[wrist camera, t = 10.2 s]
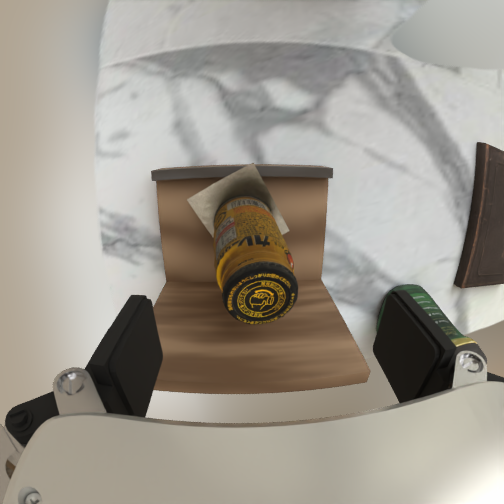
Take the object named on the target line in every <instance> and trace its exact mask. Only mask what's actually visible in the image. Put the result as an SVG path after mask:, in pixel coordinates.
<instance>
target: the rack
mask: <svg viewBox="0 0 504 504" xmlns="http://www.w3.org/2000/svg"><path fill="white" fill-rule="evenodd" d="M248 165H250V164H247V165H209V166H189V167H173V168H162V169H158V170H153V171H151V175H152V181H156V184H157V199H158V212H159V223H160V233H161V242H162V251H163V259H164V267H165V275H166V284H165V286H164V287H163V289H162V291H161V293H160V295H159V297H158V299H157V301H156V303H155V305H154V307H153V311H154V316H155V321H156V325H157V330H158V334H159V339H160V343H161V347H162V351H163V361H162V364H161V367H160V370H159V373H158V376H157V380H156V383H155V386H154V389H153V390H159V391H170V392H184V393H205V394H257V393H258V394H259V393H279V392H293V391H305V390H314V389H323V388H332V387H339V386H345V385H352V384H359V383H364V382H367V380H368V377H369V374H370V369H369V367H368V365H367V363H366V361H365V359H364V357H363V355H362V353H361V352H360V350H359V348H358V346H357V344H356V342H355V340H354V338H353V336H352V334H351V333H350V331H349V329H348V327H347V325H346V323H345V321H344V320H343V318H342V316H341V314H340V312H339V310H338V309H337V307H336V305H335V303H334V301H333V300H332V298H331V296H330V294H329V293H328V291H327V289H326V287H325V285H324V284H323V282H322V280H321V274H322V264H323V253H324V241H325V228H326V213H327V194H328V178H333V168H329V167H324V166H311V165H272V164H254V165H255V167H256V168H257V170H258V172H259V174H260V176H261V178H262V179H263V181H264V183H265V185H266V187H267V189H268V191H269V192H270V194H271V196H272V198H273V200H274V202H275V204H276V206H277V208H278V210H279V211H280V213H281V215H282V217H283V219H284V221H285V223H286V225H287V227H288V229H289V231H288V232H287V233H285V234H283V235H282V236H283V238H284V240H285V242H286V244H287V247H288V249H289V251H290V253H291V255H292V258H293V262H294V275H295V277H296V280H297V283H298V298H297V301H296V302H295V304H294V306H293V307H292V309H291V310H290V311H289V312H288V313H286V314H285V315H284V317H281V318H279V319H277V320H275V321H273V322H270V323H265V324H246V323H244V322H241V321H238V320H236V319H235V318H233V316H232V315H230V314H229V312H228V311H227V310H226V308H225V306H224V303H223V299H222V291H221V289H220V287H219V285H218V283H217V279H216V271H215V267H214V258H215V257H214V255H215V254H214V247H213V243H214V238H213V237H212V235H211V234H210V232H209V231H208V230H207V228H206V227H205V225H204V224H203V223H202V221H201V220H200V218H199V217H198V216H197V214H196V212H195V211H194V210H193V208H192V207H191V205H190V204H189V202H188V201H187V199H189V198H191V197H192V196H194V195H196V194H197V193H199V192H200V191H202V190H204V189H206V188H207V187H209V186H211V185H212V184H214V183H216V182H218V181H220V180H221V179H223V178H225V177H227V176H228V175H231V174H232V173H234V172H236V171H238V170H240V169H242V168H243V167H246V166H248Z"/></svg>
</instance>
